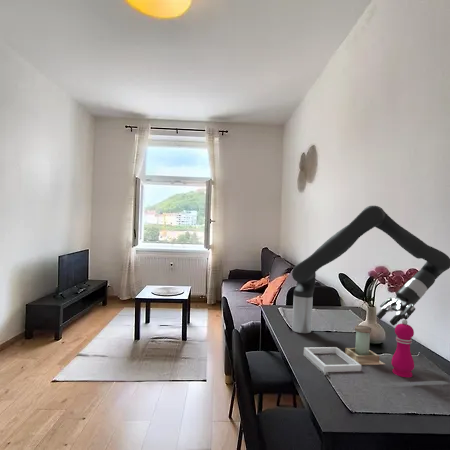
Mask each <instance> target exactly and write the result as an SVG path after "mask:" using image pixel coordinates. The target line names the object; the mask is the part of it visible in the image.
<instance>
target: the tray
mask: <svg viewBox="0 0 450 450" xmlns="http://www.w3.org/2000/svg"><path fill="white" fill-rule="evenodd" d="M315 354H335V355H337V356H338V357H340V358H341V359H342V360H344V361H345V362H346V363H347V364H326V363H325V362H323V360H321V359H320V358H319V357H318V356H317V355H315ZM303 356H304V357H305V358H306V359H307V360H308V361H309V362H310V363H311V364H312V365H313V366H314V367H315V368H316V369H318V371H320V373H321V374H323V375H324V376H329V375H330V373H336V372H337V373H338V372H340V373H341V372H342V373H343V372H361V371H362V365H360V364H359V363H358V362H356V361H355V360H354V359H352V358H351V357H349V356H348V355H347V354H345V351H343V350H342V349H340V348H338V347H337V346H327V347H326V346H322V347H321V346H319V347H315V346H314V347H310V346H309V347H303Z"/></svg>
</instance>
